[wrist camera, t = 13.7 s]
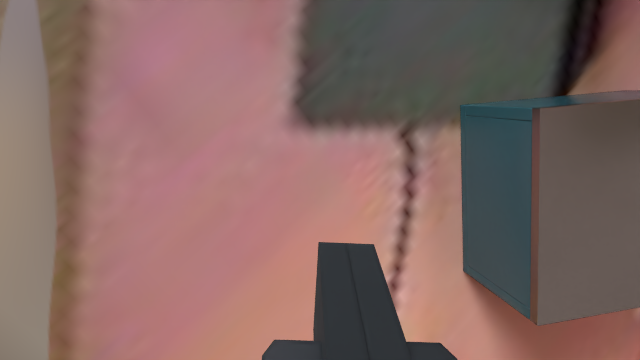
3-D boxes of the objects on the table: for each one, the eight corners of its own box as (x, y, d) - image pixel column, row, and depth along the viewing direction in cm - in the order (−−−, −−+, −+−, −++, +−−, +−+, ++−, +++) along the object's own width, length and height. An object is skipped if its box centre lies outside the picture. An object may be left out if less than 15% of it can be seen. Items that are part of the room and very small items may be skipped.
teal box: (624, 90, 39) (734, 89, 31) (616, 247, 42) (717, 286, 33) (460, 104, 36) (531, 107, 28) (463, 271, 39) (529, 320, 31)
